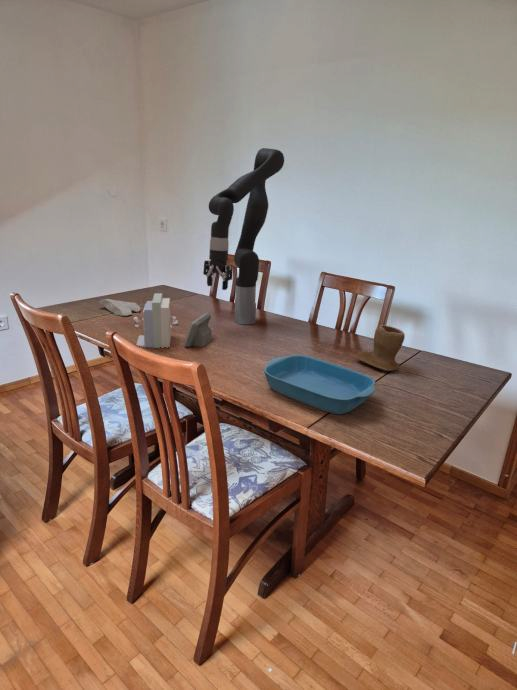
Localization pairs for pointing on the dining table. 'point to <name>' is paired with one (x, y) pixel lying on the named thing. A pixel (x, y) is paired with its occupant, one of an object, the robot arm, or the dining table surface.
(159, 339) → the book row
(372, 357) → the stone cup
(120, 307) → the rock
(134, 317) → the game piece set
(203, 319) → the digital clock
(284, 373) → the casserole dish
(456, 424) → the dining table surface
